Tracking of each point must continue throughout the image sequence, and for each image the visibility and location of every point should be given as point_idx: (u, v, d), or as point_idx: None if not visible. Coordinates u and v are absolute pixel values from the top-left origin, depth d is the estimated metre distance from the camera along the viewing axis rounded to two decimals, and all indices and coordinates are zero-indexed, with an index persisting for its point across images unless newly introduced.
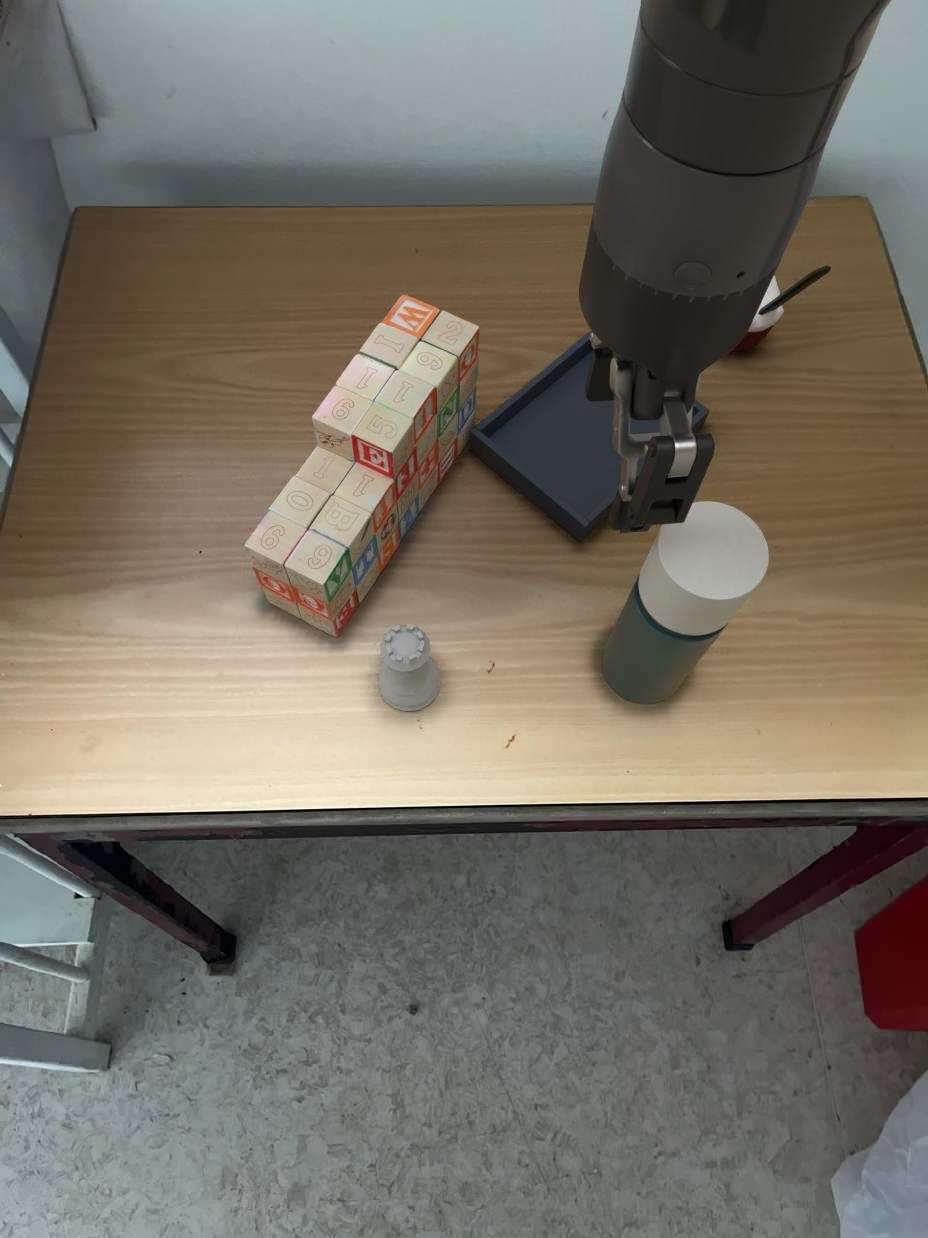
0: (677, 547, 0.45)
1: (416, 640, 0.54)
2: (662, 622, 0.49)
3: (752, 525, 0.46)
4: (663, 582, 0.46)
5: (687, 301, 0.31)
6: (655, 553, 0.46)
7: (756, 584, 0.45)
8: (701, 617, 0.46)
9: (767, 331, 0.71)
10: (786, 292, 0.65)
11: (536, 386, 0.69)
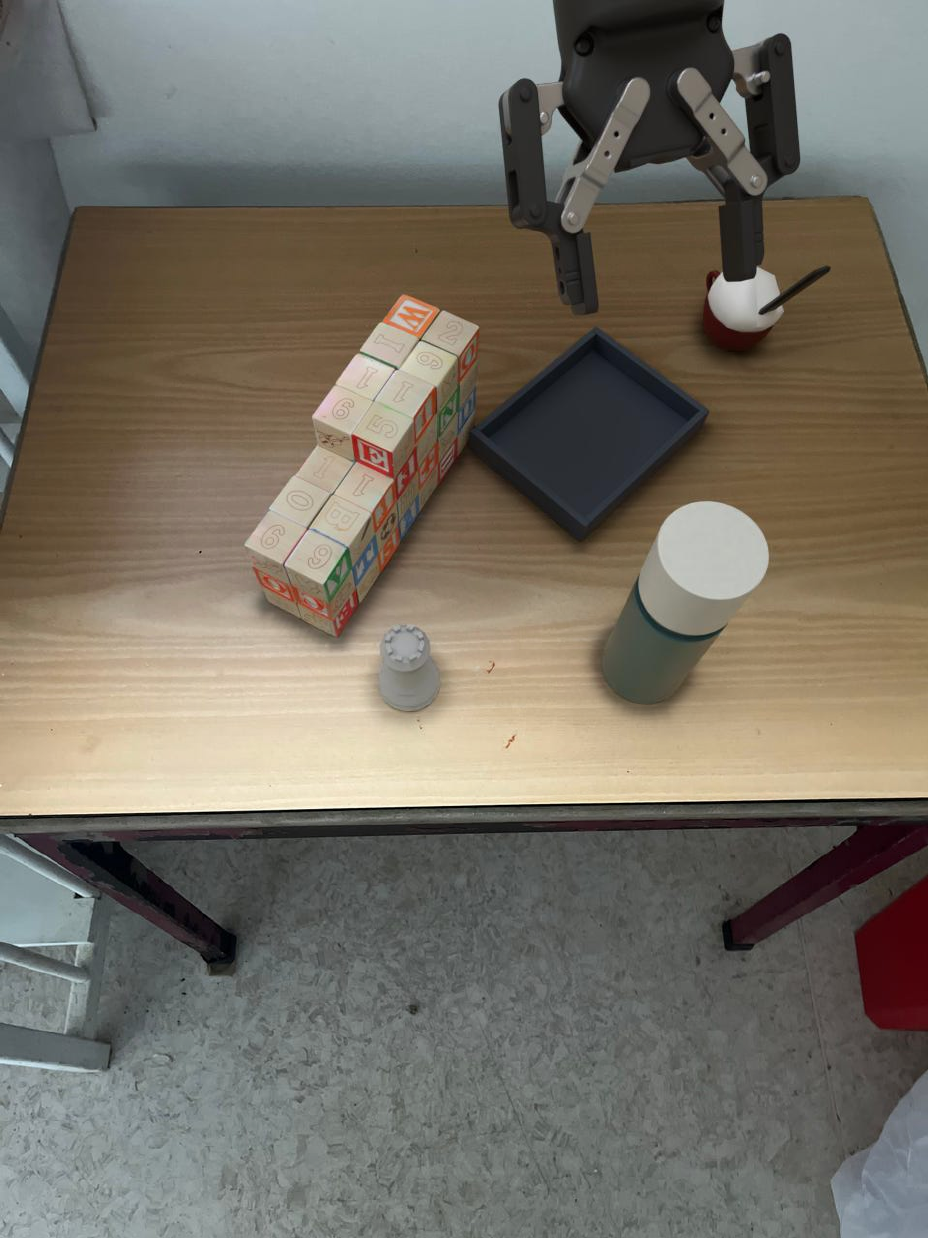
0: (677, 547, 0.45)
1: (416, 640, 0.54)
2: (662, 622, 0.49)
3: (752, 525, 0.46)
4: (663, 582, 0.46)
5: None
6: (655, 553, 0.46)
7: (756, 584, 0.45)
8: (701, 617, 0.46)
9: (767, 331, 0.71)
10: (786, 292, 0.65)
11: (536, 386, 0.69)
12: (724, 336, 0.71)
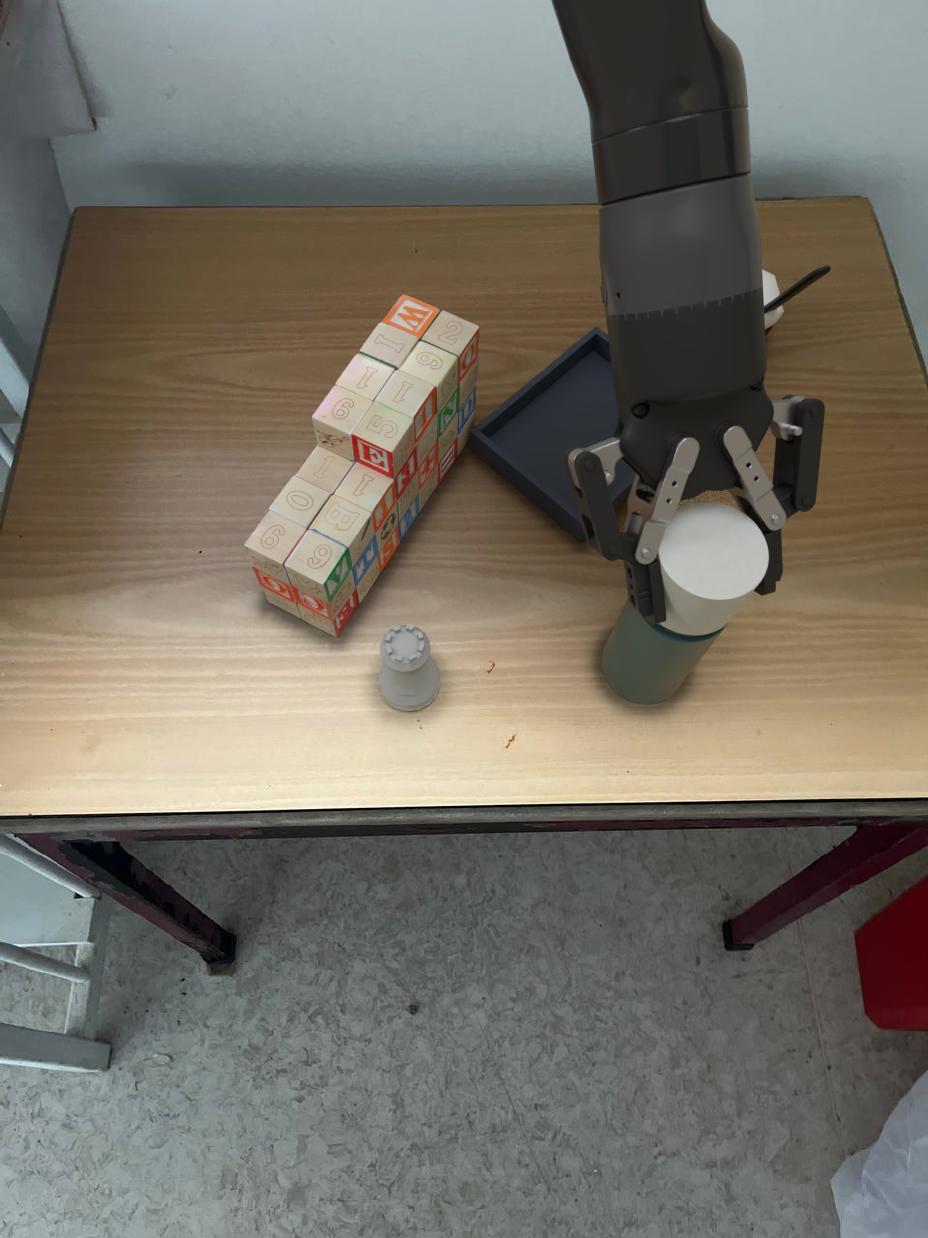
0: (677, 547, 0.45)
1: (416, 640, 0.54)
2: (662, 622, 0.49)
3: (752, 525, 0.46)
4: (663, 582, 0.46)
5: (607, 319, 0.42)
6: None
7: (756, 584, 0.45)
8: (700, 617, 0.46)
9: (767, 331, 0.71)
10: (786, 292, 0.65)
11: (536, 386, 0.69)
12: None
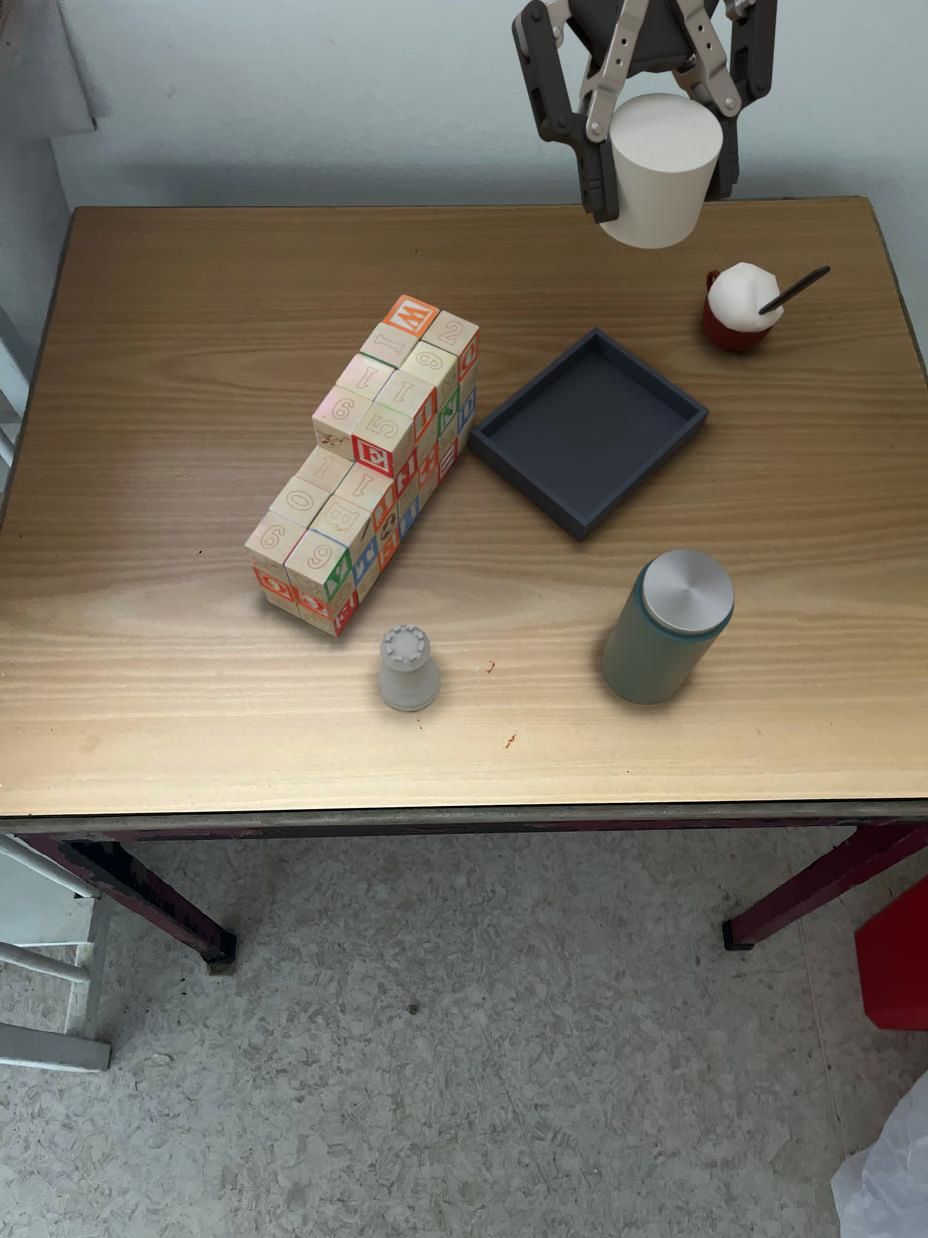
0: (629, 129, 0.44)
1: (416, 640, 0.54)
2: (617, 234, 0.48)
3: (706, 112, 0.45)
4: (615, 168, 0.45)
5: None
6: (607, 139, 0.45)
7: (709, 159, 0.44)
8: (654, 211, 0.45)
9: (767, 331, 0.71)
10: (786, 292, 0.65)
11: (536, 386, 0.69)
12: (724, 336, 0.71)
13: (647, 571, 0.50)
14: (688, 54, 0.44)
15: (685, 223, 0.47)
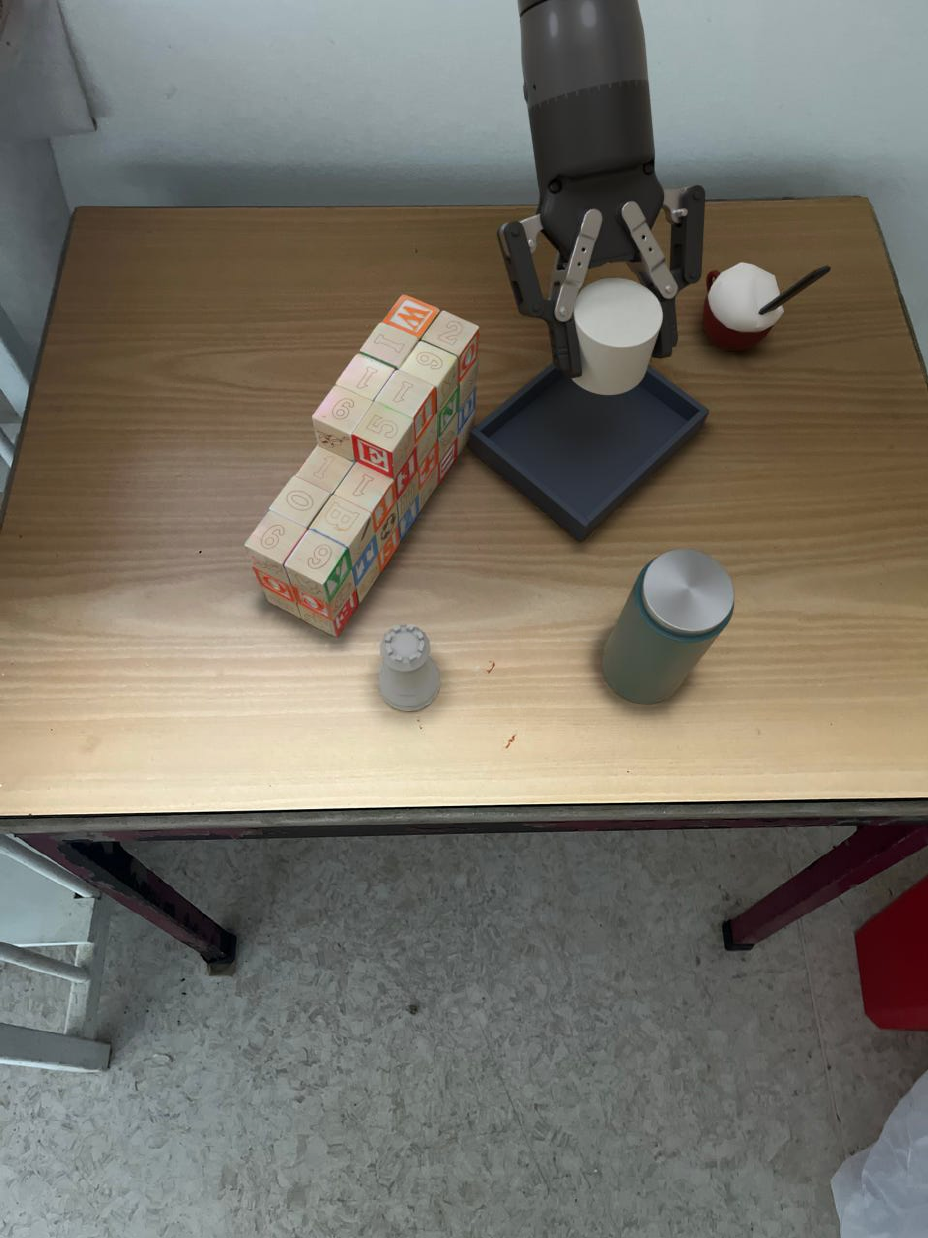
0: (589, 310, 0.56)
1: (416, 640, 0.54)
2: (581, 384, 0.60)
3: (650, 295, 0.57)
4: (578, 339, 0.57)
5: (528, 114, 0.53)
6: (572, 316, 0.57)
7: (651, 336, 0.56)
8: (609, 371, 0.58)
9: (767, 331, 0.71)
10: (786, 292, 0.65)
11: (536, 386, 0.69)
12: (724, 336, 0.71)
13: (647, 571, 0.50)
14: (635, 254, 0.56)
15: (635, 377, 0.59)
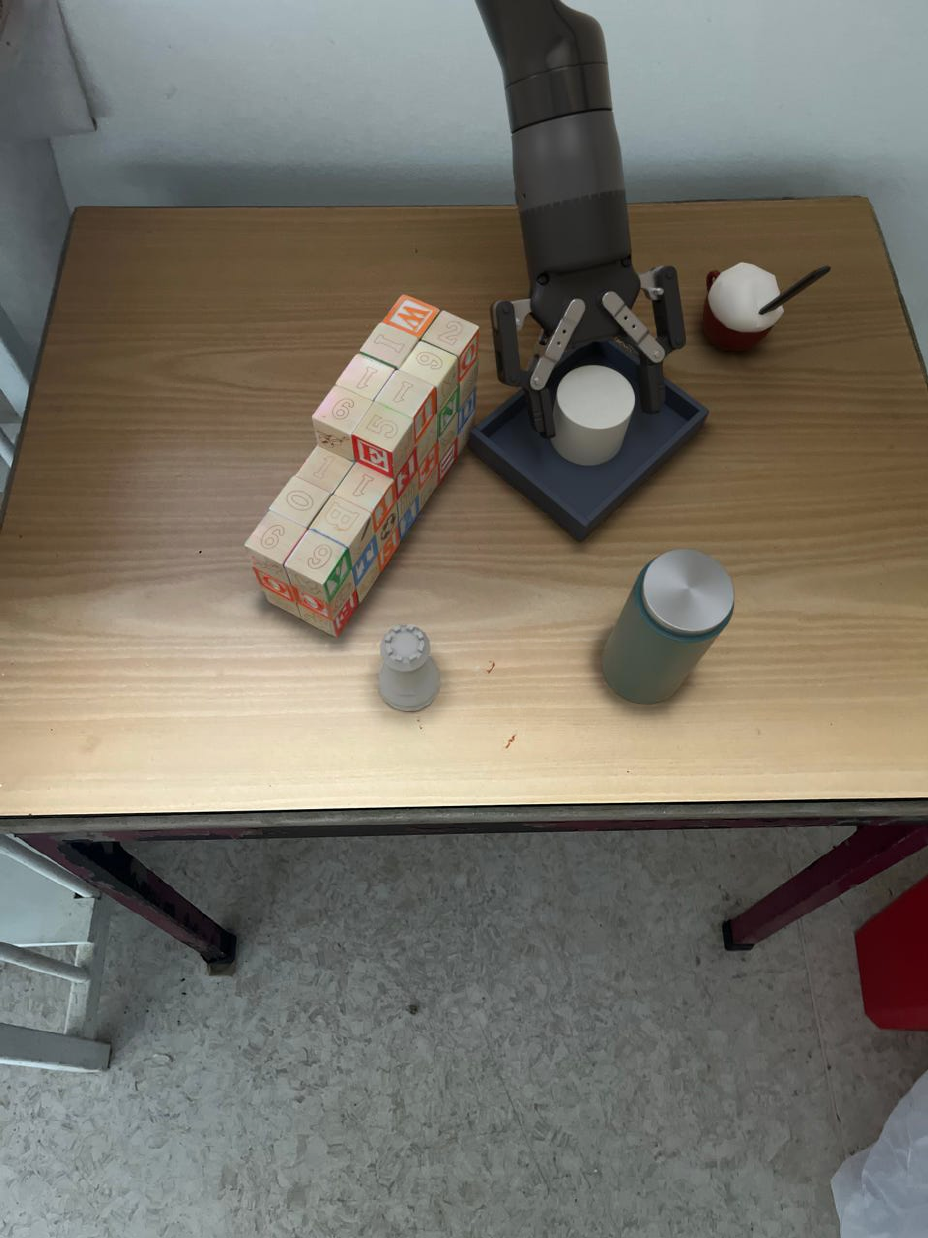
0: (570, 395, 0.65)
1: (416, 640, 0.54)
2: (565, 456, 0.68)
3: (624, 381, 0.65)
4: (561, 420, 0.65)
5: (519, 215, 0.60)
6: (556, 400, 0.65)
7: (624, 419, 0.64)
8: (589, 447, 0.66)
9: (767, 331, 0.71)
10: (786, 292, 0.65)
11: None
12: (724, 336, 0.71)
13: (647, 571, 0.50)
14: (621, 332, 0.63)
15: (612, 451, 0.67)
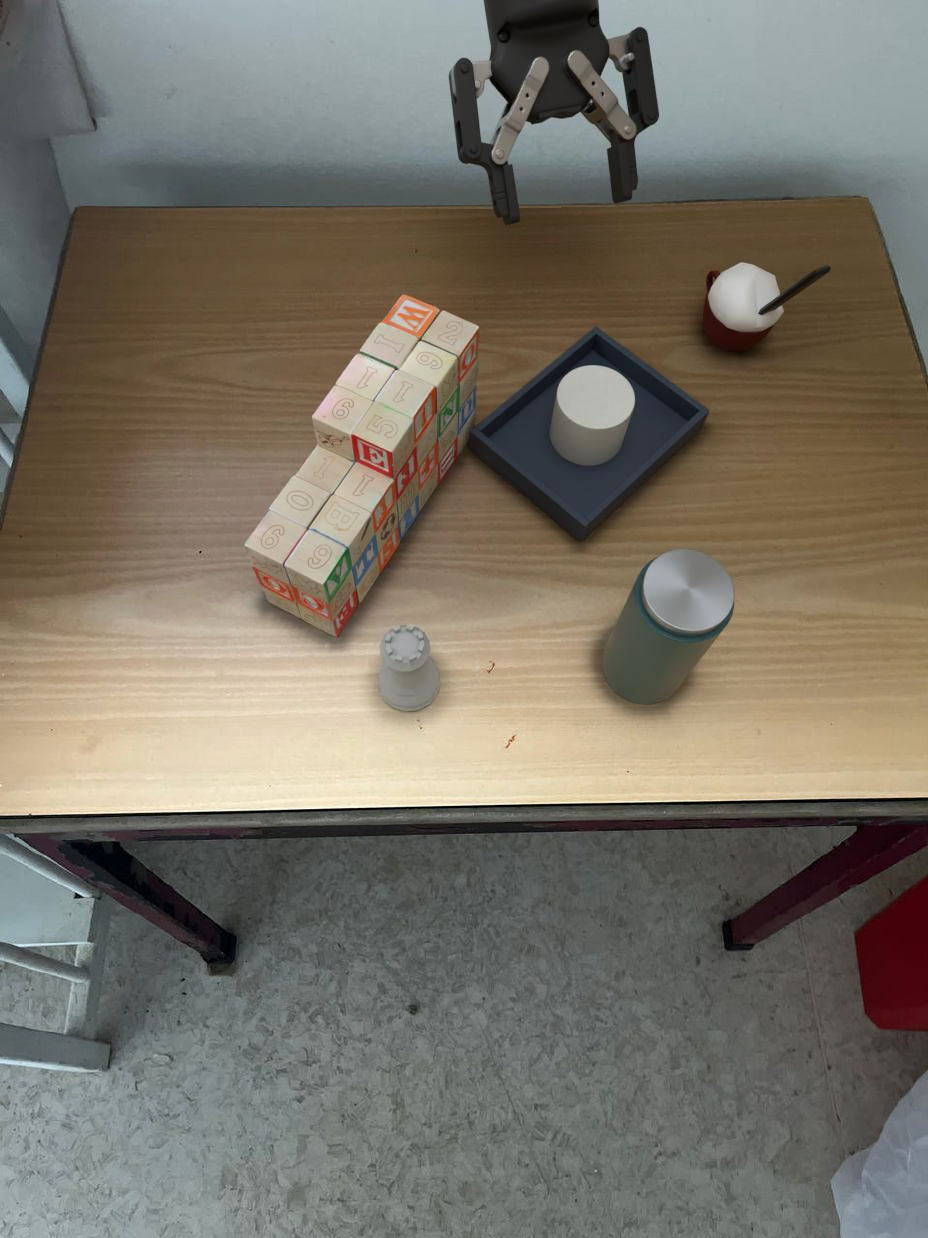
0: (570, 395, 0.65)
1: (416, 640, 0.54)
2: (565, 456, 0.68)
3: (624, 381, 0.65)
4: (561, 420, 0.65)
5: None
6: (556, 400, 0.65)
7: (624, 419, 0.64)
8: (589, 447, 0.66)
9: (767, 331, 0.71)
10: (786, 292, 0.65)
11: (536, 386, 0.69)
12: (724, 336, 0.71)
13: (647, 571, 0.50)
14: (589, 102, 0.59)
15: (612, 451, 0.67)
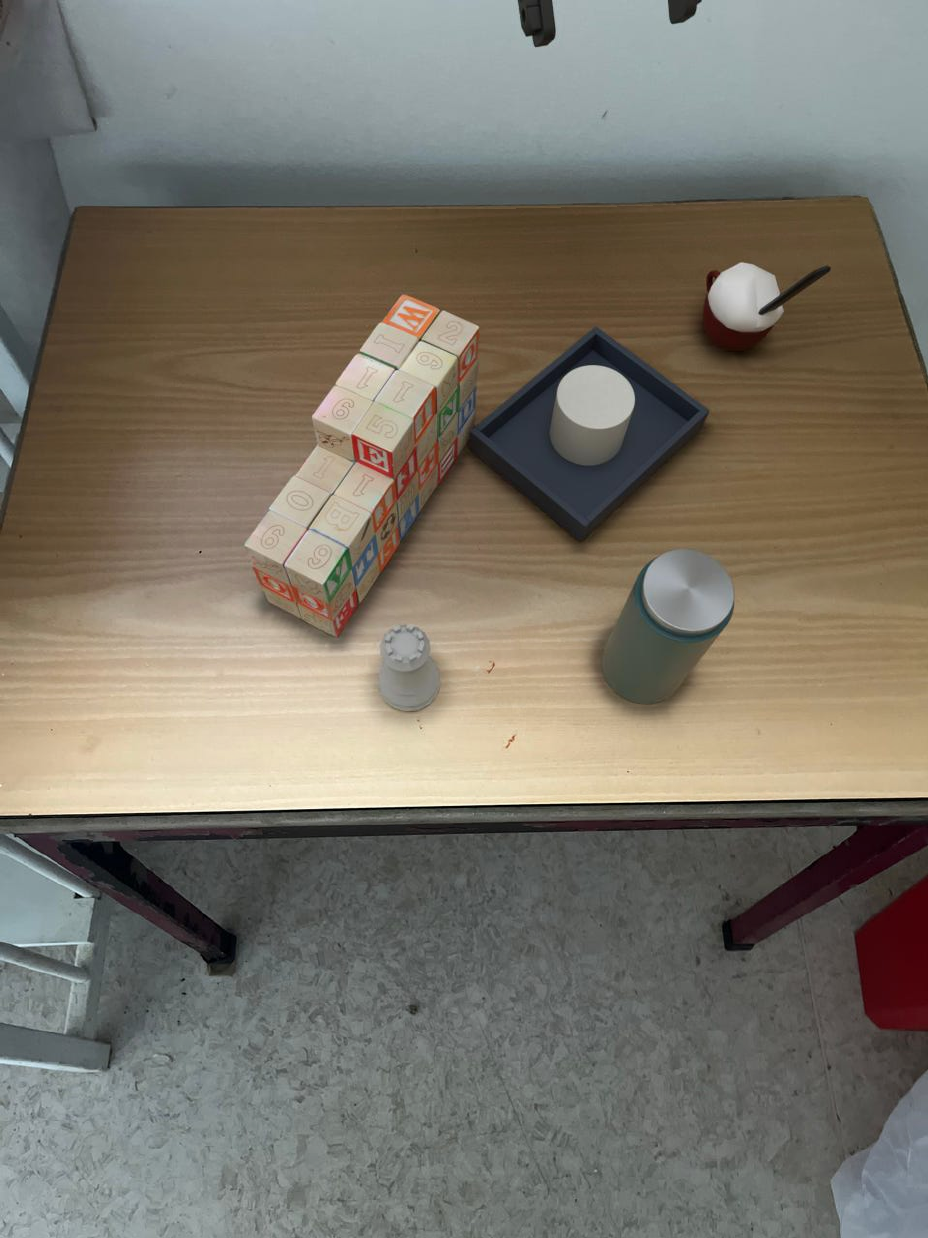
0: (570, 395, 0.65)
1: (416, 640, 0.54)
2: (565, 456, 0.68)
3: (624, 381, 0.65)
4: (561, 420, 0.65)
5: None
6: (556, 400, 0.65)
7: (624, 419, 0.64)
8: (589, 447, 0.66)
9: (767, 331, 0.71)
10: (786, 292, 0.65)
11: (536, 386, 0.69)
12: (724, 336, 0.71)
13: (647, 571, 0.50)
14: None
15: (612, 451, 0.67)
